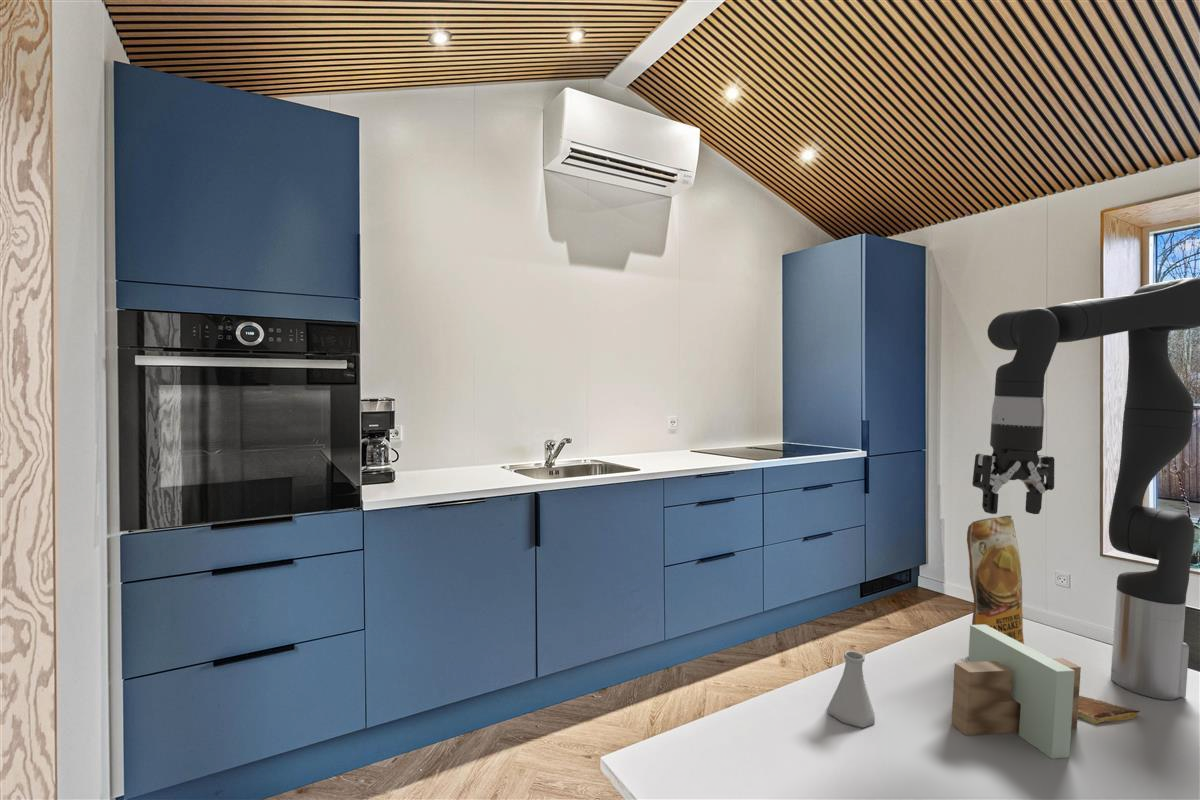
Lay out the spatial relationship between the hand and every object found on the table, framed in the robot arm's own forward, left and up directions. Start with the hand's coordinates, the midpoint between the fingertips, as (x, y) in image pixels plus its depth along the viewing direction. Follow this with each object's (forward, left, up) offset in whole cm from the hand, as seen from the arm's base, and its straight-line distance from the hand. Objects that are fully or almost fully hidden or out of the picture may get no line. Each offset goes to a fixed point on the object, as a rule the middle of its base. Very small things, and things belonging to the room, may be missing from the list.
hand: (1011, 513), depth 102 cm
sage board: (+5, +12, -32) cm, 34 cm away
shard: (-12, +4, -33) cm, 35 cm away
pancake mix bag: (-6, -15, -32) cm, 36 cm away
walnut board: (+5, +12, -32) cm, 34 cm away
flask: (+30, +13, -32) cm, 46 cm away
